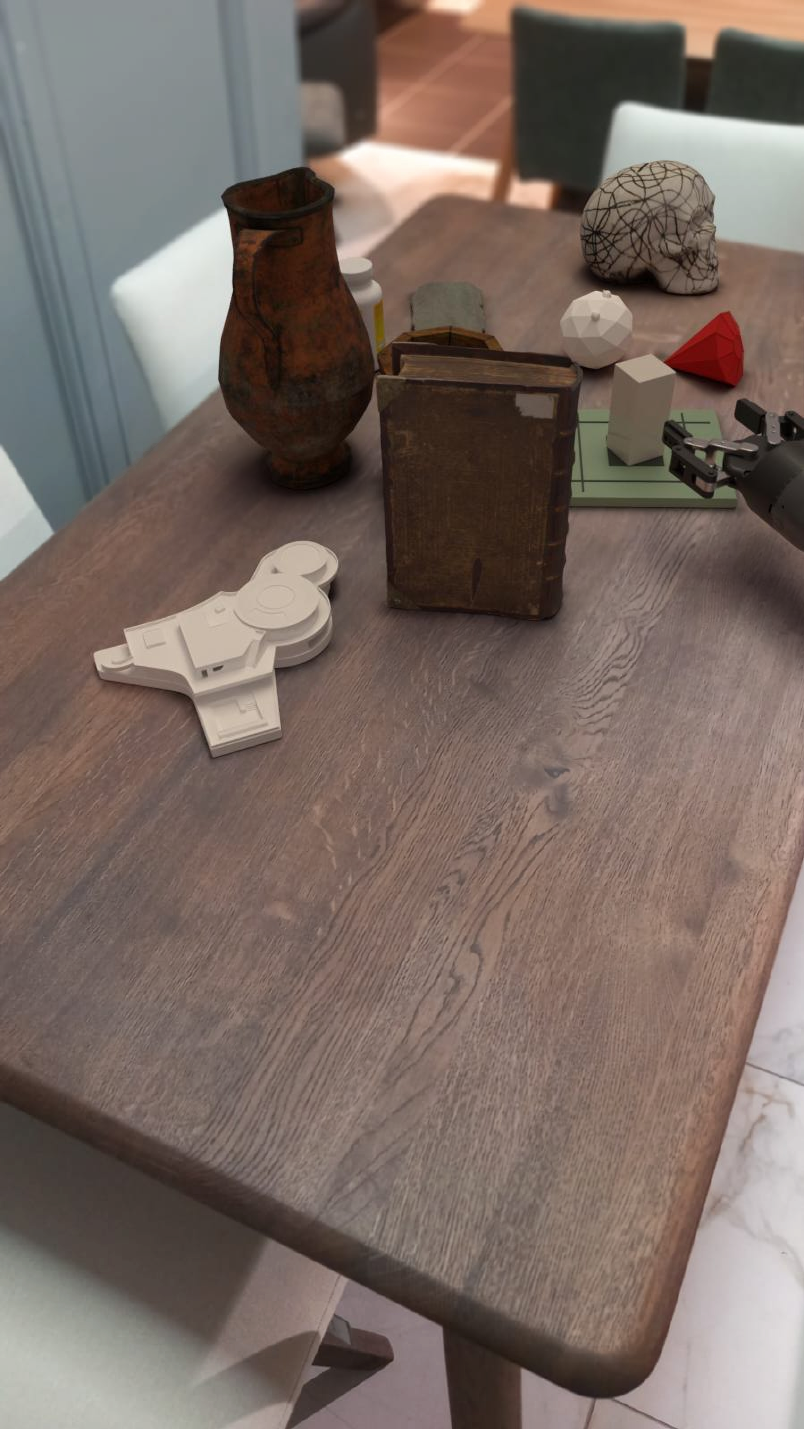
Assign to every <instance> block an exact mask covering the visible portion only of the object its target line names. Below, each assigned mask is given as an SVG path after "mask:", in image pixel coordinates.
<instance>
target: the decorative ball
mask: <svg viewBox="0 0 804 1429" xmlns="http://www.w3.org/2000/svg"><path fill="white" fill-rule="evenodd" d="M633 317H634V316H633V313H632V312H631V311H630V310H629V307H627V305H626V304H625V303H624V302H623V300H622V299H621V297H620V296H619V295H615V294H612V293H611V291H610V290H605V289H603V290H602V291H599V290H594V291H592V292H588V293H587V294H585V295H581V296H579V297H578V298H575V299H573V300H572V301H571V303H570V304H569V306H568V307H567V309H566V310H565V312H564V314H563V315H562V317H561V319H560V320H559V333H560V334H559V338H560V339H559V340H560V342H559V343H560V347H561V348H562V350H563V351H564V352H565V354H566V356H568V357H569V358H570V359H571V360H572V361H574V362H577V363H578V364H579V366H580V367H585V368H588V369H593V370H598V369H601V368H604V367H606V366H609V365H612V364H613V363H616V362H618V361H619V360H620V359H621V358H622V357H623V356H624V355H625V353H626V352H628V349H629V347H630V345H631V343H632V341H633V340H634V339H633V335H634V334H633V330H634V328H633V324H634V323H633V322H634V319H633Z"/></svg>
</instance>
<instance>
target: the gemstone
mask: <svg viewBox="0 0 804 1429" xmlns="http://www.w3.org/2000/svg"><path fill="white" fill-rule="evenodd" d="M662 362H663V363H665V364H666V365H667V366H669V367H670V368H671V369H673V370H678V371H681V372H686V373H689V374H692V375H695V376H699V377H702V378H706V379H709V380H712V381H716V382H720V383H723V384H726V385H730V386H734V387H737V386H738V384H739V382H740V381H741V379H742V378H743V376H744V365H745V364H744V362H745V348H744V345H743V339H742V334H741V330H740V326H739V324H738V322H737V320H736V318H735V317H734V316H733V314H732V312H731V311H730V310H728V311H723V312H719V313H718V314H717V315H716V316H715V317H714V318H712V319H711V320H710V321H709V322H708V323H707V324H706V325H704V327H702V328H701V329H700V330H698V332H696V333H695V334H694V335H693V336H692V337H691V338H690V339H688V340H687V341H686V342H685V343H683V345H682V346H680V347H679V348H678V349H677V350H676V351H674V353H672V354H671V355H670V356H669V357H668V358H666V359H665V360H664V361H662Z"/></svg>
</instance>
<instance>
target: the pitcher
mask: <svg viewBox="0 0 804 1429" xmlns="http://www.w3.org/2000/svg"><path fill="white" fill-rule="evenodd" d="M335 194H336V188H335V187H334V186H333V185H332V184H330V183H329V182H327V181H324V180H323V179H320V178H319V177H317V173H316V171H314V170H313V169H311V168H310V167H308V166H307V167H306V166H297V167H291V168H290V169H285V170H282V171H279V172H278V173H275V174H271V175H267V176H263V177H259V178H254V179H249V180H245V181H240V182H236V183H235V184H233V185H230V186H229V187H227V188H226V189H225V190H224V191H223V192H222V194H221V195H220V198H221V200H222V204H223V207H224V208H225V209H226V214H227V219H228V224H229V231H230V232H229V233H230V238H231V239H230V240H231V245H232V256H233V258H232V269H231V270H232V271H231V273H232V274H231V287H232V292H231V297H230V302H229V306H228V308H227V309H228V310H227V314H226V317H225V320H224V325H223V327H222V332H221V335H220V342H219V351H218V352H219V353H218V354H219V355H218V373H217V380H218V385H219V387H220V390H221V394H222V397H223V401H224V405H225V408H226V410H227V412H228V413H229V415H230V416H231V418H232V419H233V420H234V421H235V422H236V423H237V424H238V426H240V428H242V429H243V431H244V432H246V434H247V435H248V436H249V437H250V438H251V439H252V440H253V441H254V442H255V443H257V444H258V446H260V447H262V448H263V449H265V450H267V451H268V452H267V455H266V456H265V461H264V469H265V473H266V474H267V476H268V478H269V479H270V480H272V481H273V482H274V483H275V484H277V485H280V486H282V487H285V488H287V489H295V490H296V489H297V490H308V489H315V488H322V487H325V486H327V485H329V484H332V483H334V482H335V481H337V480H338V479H340V478H342V476H344V475H345V474H346V473H347V471H348V470H349V469H350V467H351V465H352V461H353V451H352V447H351V446H350V444H349V443H348V442H347V440H346V439H347V438H348V437H349V436H350V435H351V433H353V431H354V430H355V428H356V427H357V425H358V424H359V422H360V420H361V419H362V417H363V416H364V414H365V412H366V411H367V409H368V407H369V405H370V403H371V402H372V399H373V391H374V382H375V376H376V375H375V374H376V371H375V361H374V357H373V352H372V348H371V343H370V339H369V334H368V331H367V329H366V326H365V324H364V321H363V319H362V316H361V314H360V311H359V309H358V306H357V303H356V301H355V299H354V297H353V295H352V293H351V291H350V289H349V287H348V285H347V283H346V281H345V279H344V277H343V275H342V273H341V271H340V266H339V256H338V251H337V246H336V237H335V226H334V212H333V211H334V210H333V208H334V207H333V206H334V205H333V204H334V200H335Z"/></svg>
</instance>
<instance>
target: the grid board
mask: <svg viewBox="0 0 804 1429" xmlns="http://www.w3.org/2000/svg"><path fill="white" fill-rule="evenodd" d="M609 415H610V408H588V409H587V408H578V416H579V422H578V426H577V428H576V434H575V445H574V450H575V453H576V454H575V463H574V465H573V470H572V481H571V488H572V497H571V499H570V505H569V507H601V508H602V507H605V508H606V507H609V508H610V507H612V508H614V507H615V508H616V507H617V508H619V507H620V508H702V509H703V508H704V509H705V508H707V509H709V508H711V509H712V508H713V509H715V508H716V509H717V508H719V509H736V507H737V502H738V497H737V493H736V489H733V488H730V487H728V486H723V487H720V488H718V489H715V491H714V496H713V497H712V498H710V499H705V498H703V497H701V496H700V495H699V494H697V493H696V492H695V491H693V490H692V489H691V488H690V487H688V486H687V485H686V484H684V483H683V482H682V481H680V480H679V479H678V478H676V477H675V476H674V475H673V474H671V473H670V472H669V465H670V460H671V451H672V450H671V449H670V448H669V447H667V445H665V449H664V455H662V456H659V457H656V458H653V459H650V460H646V461H643V462H640V463H637V464H634V465H630V466H628V465H627V464H626V463H625V462H623V461H622V460H621V459H620V458H619V457H618V456H617V455H616V454H614V453H613V452H612V451H611V450H610V449H609V448H608V447H606V443H607V433H608V424H609ZM669 420H674V421H675V422H677V423H678V424H679V425H680V426H682V427H683V428H684V429H685V430H687V431H688V432H689V433H690V434H692V435H693V438H697V439H701V440H705V441H710V440H711V439H713V438H718V439H722V440H724V438H723V435H722V430H721V427H720V422H719V418H718V415H717V410H716V409H684V408H683V409H678V408H677V409H676V408H675V409H672V408H671V410H670V416H669ZM723 455H724V452H722V451H717V454H716V459H715V463H716V465H717V466H719V467H722V460H723ZM695 456H697V457H699V458H703V459H705V457H706V453H705V452H703V451H699V450H696V451H695ZM684 468H685V466H684Z"/></svg>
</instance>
